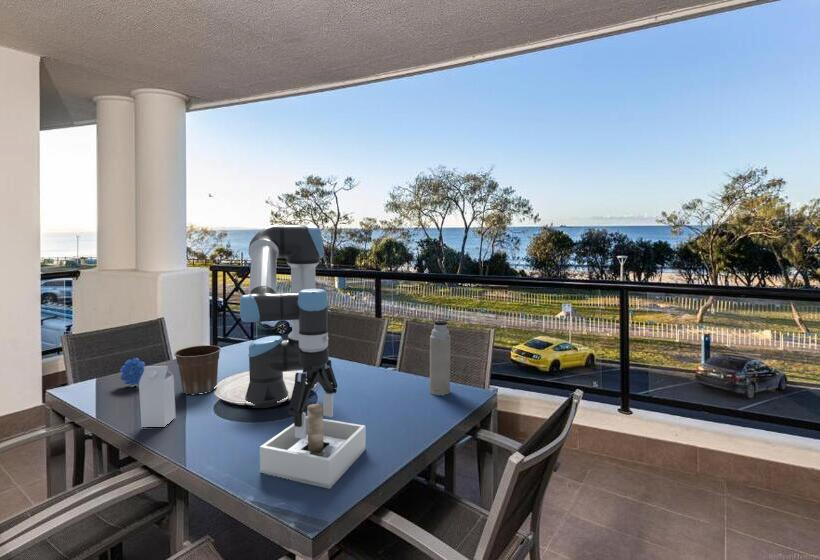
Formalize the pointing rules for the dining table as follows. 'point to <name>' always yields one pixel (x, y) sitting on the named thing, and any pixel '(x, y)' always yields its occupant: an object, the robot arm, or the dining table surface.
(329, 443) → the bore plate
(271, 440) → the box
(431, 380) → the thermos bottle
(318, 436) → the peg
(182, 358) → the plant pot
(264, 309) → the robot arm
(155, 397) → the milk carton
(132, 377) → the grapes
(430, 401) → the dining table surface
